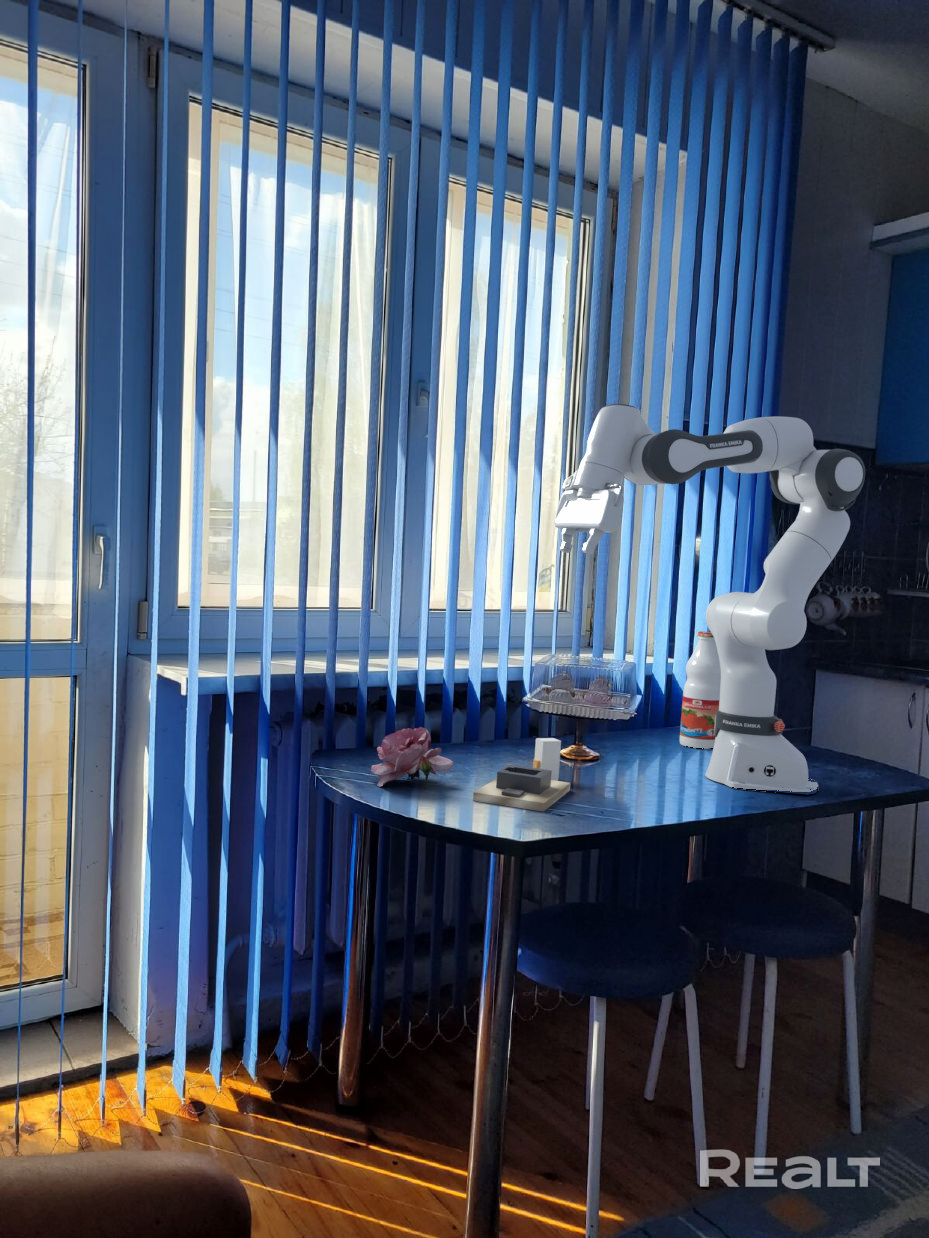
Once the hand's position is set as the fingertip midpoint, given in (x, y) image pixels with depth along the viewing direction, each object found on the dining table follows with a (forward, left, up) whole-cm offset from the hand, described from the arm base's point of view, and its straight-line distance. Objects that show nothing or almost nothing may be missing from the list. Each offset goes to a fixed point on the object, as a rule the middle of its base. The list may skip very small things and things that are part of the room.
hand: (575, 552), depth 193 cm
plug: (+3, -1, -45) cm, 45 cm away
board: (+3, +14, -45) cm, 47 cm away
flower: (+24, +18, -45) cm, 54 cm away
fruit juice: (-19, -60, -45) cm, 77 cm away
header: (+3, +14, -43) cm, 46 cm away
